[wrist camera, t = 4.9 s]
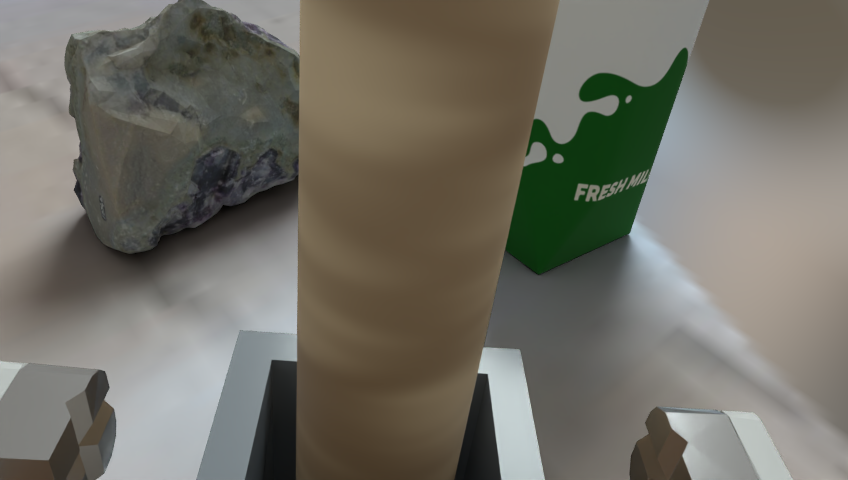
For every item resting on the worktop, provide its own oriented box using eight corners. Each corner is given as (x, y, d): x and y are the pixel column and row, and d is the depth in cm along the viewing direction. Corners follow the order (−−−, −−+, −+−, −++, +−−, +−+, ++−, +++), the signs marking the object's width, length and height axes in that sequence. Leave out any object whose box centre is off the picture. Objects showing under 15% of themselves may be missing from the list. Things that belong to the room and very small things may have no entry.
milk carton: (532, 163, 41) (625, -245, 30) (656, 239, 36) (828, -223, 24) (416, 200, 36) (475, -271, 25) (540, 295, 31) (688, -251, 19)
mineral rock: (338, 146, 40) (346, -33, 35) (374, 255, 32) (392, 43, 26) (98, 150, 37) (63, -47, 31) (68, 274, 29) (13, 35, 23)
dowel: (286, 664, 17) (278, -404, 6) (303, 532, 20) (321, -352, 9) (427, 668, 18) (677, -344, 6) (425, 538, 21) (592, -312, 9)
